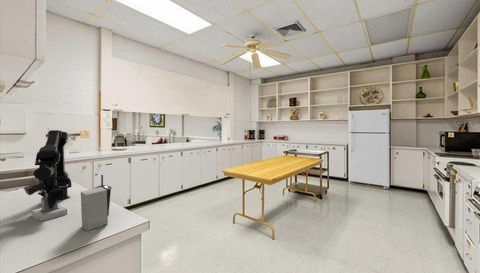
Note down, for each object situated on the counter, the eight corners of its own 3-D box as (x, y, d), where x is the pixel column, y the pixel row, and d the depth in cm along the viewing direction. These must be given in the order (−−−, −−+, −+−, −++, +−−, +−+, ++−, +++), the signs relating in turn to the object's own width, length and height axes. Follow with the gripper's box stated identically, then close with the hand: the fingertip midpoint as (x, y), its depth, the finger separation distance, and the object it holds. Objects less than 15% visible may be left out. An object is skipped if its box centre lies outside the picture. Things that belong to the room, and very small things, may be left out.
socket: (31, 215, 103) (31, 209, 103) (57, 209, 112) (57, 203, 112) (40, 221, 97) (40, 214, 97) (67, 214, 106) (67, 207, 105)
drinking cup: (89, 217, 102) (88, 175, 101) (105, 212, 109) (105, 172, 108) (98, 221, 98) (98, 177, 97) (115, 215, 105) (114, 174, 104)
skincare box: (102, 220, 99) (102, 186, 98) (108, 225, 94) (108, 189, 94) (80, 227, 92) (79, 190, 92) (85, 232, 88) (85, 193, 87)
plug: (41, 212, 104) (41, 197, 103) (54, 209, 108) (54, 194, 107) (44, 214, 101) (44, 199, 101) (57, 211, 106) (57, 196, 105)
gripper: (19, 176, 102) (20, 208, 103) (32, 181, 92) (33, 217, 93) (49, 172, 111) (50, 202, 112) (64, 176, 101) (65, 209, 102)
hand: (49, 207), depth 104 cm, fingers closed on plug, 4 cm apart
